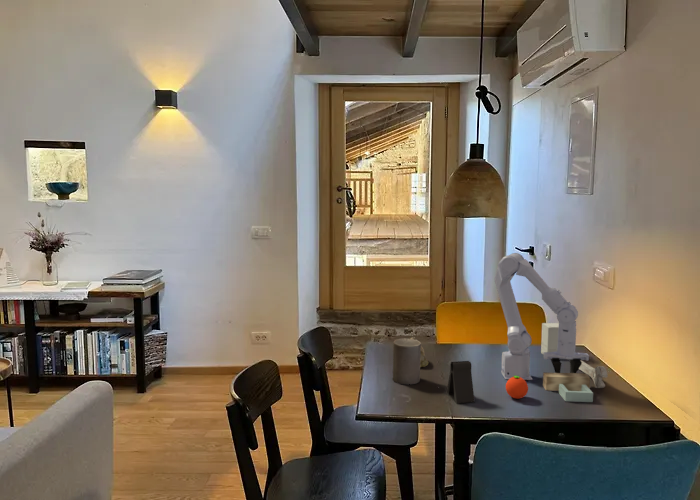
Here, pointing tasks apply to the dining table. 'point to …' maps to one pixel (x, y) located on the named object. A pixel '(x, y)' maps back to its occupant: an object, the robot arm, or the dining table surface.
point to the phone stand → (460, 382)
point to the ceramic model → (422, 357)
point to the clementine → (516, 387)
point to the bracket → (576, 394)
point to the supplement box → (549, 337)
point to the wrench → (595, 373)
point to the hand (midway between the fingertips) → (564, 379)
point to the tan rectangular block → (565, 381)
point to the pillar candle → (406, 361)
